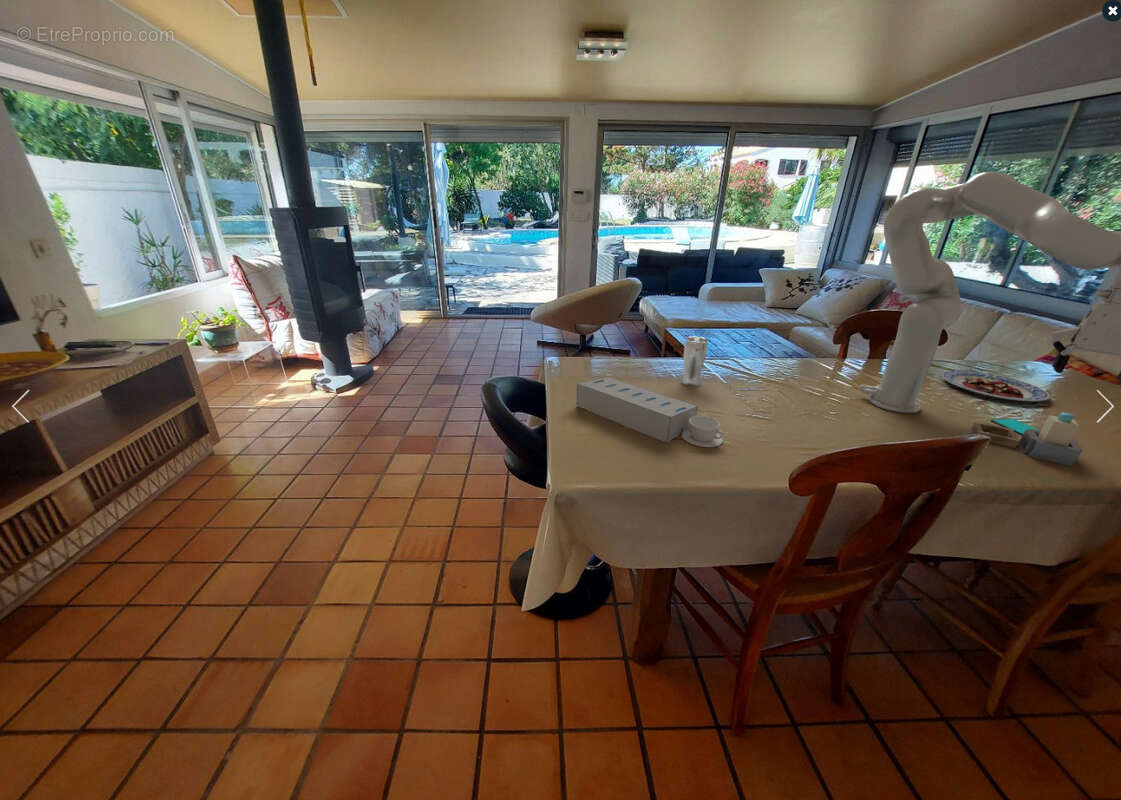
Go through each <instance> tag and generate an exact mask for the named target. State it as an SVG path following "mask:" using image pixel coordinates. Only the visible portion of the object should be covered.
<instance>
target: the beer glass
mask: <svg viewBox="0 0 1121 800" xmlns="http://www.w3.org/2000/svg"><path fill="white" fill-rule="evenodd" d="M685 340H686V341H685V344H684V348H683V349H684V350H683V375H682V376H681V377H682V378H681V380H680V382H681V384H683V385H685V386H687V387H688V386H689V387H698V386H700V385H701V373H702V369H703V366H704V363H705V360H706V357H707V351H708V342H709V340H708V339H707V338H705V337H702V336H688V337H687V338H686V339H685Z"/></svg>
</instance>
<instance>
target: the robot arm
mask: <svg viewBox="0 0 1121 800" xmlns="http://www.w3.org/2000/svg"><path fill="white" fill-rule="evenodd" d="M973 215H977V216H979V217H980V218H984V219H985V220H987V221H989V222H991V223H993V224H994V225H997V226H999V227H1000V228H1002V229H1004V230H1006V231H1007V232H1009V233H1011V234H1013V235H1015V236H1016V237H1017V238H1019V239H1020V240H1023V241H1024V242H1027V243H1028V244H1030V245H1031V246H1033V247H1035V248H1036V249H1038V250H1040V252H1043V253H1044V254H1047V255H1049V256H1051V257H1052V258H1055V259H1057V260H1059V261H1060V262H1062V263H1064V264H1066V265H1069V266H1071V267H1073V268H1074V269H1079V270H1083V271H1095V270H1100V269H1107V268H1116V269H1117V268H1119V269H1120V270H1118V273H1117V275H1116V277H1115V279H1113V280H1114V281H1113V282H1112V284H1111V285H1110V286H1109V287H1108V288H1106V289H1103V290H1102V289H1099V290H1097V292H1096V293H1095V297H1100V298H1102V301H1097V302H1096V303H1094V305H1093V306H1092V307H1091V309H1090V310H1089V311H1088V312H1087V314H1086V315H1085V317H1084V318H1083V319H1082V320H1081V322H1080V324H1079V325H1078V326H1077V327H1073V328H1068V329H1062V330H1057V331H1053V332H1051V333H1050V339H1051V345H1052V346H1053V347H1054V348H1055V349H1056V351H1057V352H1058V354H1057V355H1056V357H1055V359H1054V361H1053V363H1052V365H1051V367H1052V368H1053V371H1055V372H1056V373H1058V374H1061V373H1063V371H1064V369H1065V368H1066V366H1067V365H1068V362H1069V361H1070V359H1071V356H1070V355H1071V354H1073V353H1074V352H1077V351H1079V350H1082V351H1085V352H1087V351H1088V352H1092V353H1093V352H1094V353H1101V354H1107V355H1115V356H1121V230H1120V231H1119V230H1108V229H1106V228H1104V227H1101V226H1099V225H1097V224H1095V223H1093V222H1090V221H1088V220H1086V219H1084V218H1082V217H1079V216H1078V215H1076V214H1074V213H1072V212H1071V211H1069V210H1068V209H1066V208H1065V207H1063V205H1061V203H1060V202H1059V201H1058V200H1057V199H1056V198H1054V197H1053V196H1051V195H1049V194H1046V193H1044V192H1043V191H1040V190H1037V189H1035V188H1032V187H1030V186H1029V185H1026V184H1024V183H1022V182H1019V181H1017V180H1016V179H1015V177H1013V176H1012V175H1010V174H1008V173H1005V172H998V171H984V172H981V173H977V174H975V175H974V176H972V177H969V179H968V180H966V181H965V182H963V183H961V184H956V185H953V186H947V187H944V188H934V187H922V188H916V189H913V190H911V191H909V192H908V193H907V192H906V193H905V194H903V196H901V197H900V198H899V199H897V200H896V202H895V203H894V204H893V205H892V206H891V208H890V209H889V210H888V212H887V215H886V217H885V220H884V224H883V235H884V240H885V244H886V248H887V250H888V254H889V260H890V264H891V268H892V272H893V274H894V275H893V276H894V278H895V283H896V286H897V288H898V290H899V291H900V293H902V294H904V295H907V296H914V298H915V301H914V302H912V303H911V304H909V305H908V306H906V308H905V309H904V310H903V312H902V314H901V316H900V318H899V322H898V328H897V332H896V337H895V340H894V343H893V346H892V347H891V348H892V349H891V352H890V354H889V358H888V360H887V363H886V367H885V370H883V375H882V377H881V380H880V383H878V384H876V385H872V386H871V385H867V384H862V383H861V384H860V386H859V388H858V391H862V392H863V393H864V394H868V395H869V396H868V401H869V402H870V403H871V404H872V405H875V406H876V407H878V408H880V409H885V410H887V411H891V412H896V413H901V414H903V413H904V414H914V413H918V412H920V410H921V408H922V405H920V403H919V402H917V399H918V397H919V395H920V393H921V390H922V388H923V385H924V383H925V380H926V378H927V375H928V373H929V370H930V367H931V365H932V362H933V360H934V357H935V354H936V352H937V350H938V346H939V342H940V339H941V334H942V331H943V330H945V329H947V328H949V327H951V326H954V325H955V324H956V323H958V321H959V320H960V318H961V317H962V315H963V304H962V300H961V295H960V292H959V288H958V285H957V282H956V277H955V274H954V272H953V269H952V267H951V265H950V264H949V263H948V262H946V261H945V260H942V259H939V258H936V257H935V258H934V257H933V254H932V251H931V247H930V243H929V242H930V241H929V239H928V237H927V235H926V233H925V230H924V224H934V223H941V222H945V221H950V220H956V219H959V218H964V217H969V216H973ZM1068 336H1071V338H1070V342H1069V343H1067V344H1065V345H1064V344H1063V343H1062V338H1064V337H1068ZM1115 379H1116V380H1117V381H1119V382H1120V383H1121V370H1120V372H1119V373H1118V375H1117V376H1116V378H1115Z"/></svg>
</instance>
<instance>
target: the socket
mask: <svg viewBox="0 0 1121 800" xmlns="http://www.w3.org/2000/svg"><path fill="white" fill-rule="evenodd" d="M1039 433H1040V429H1038V430H1035V429H1030V428H1028V430H1025V432H1024V434H1023V436H1022V435H1021V437H1020V439H1019V443H1018V445H1019V448H1020V449H1021V452H1022V453H1023V454H1026V453H1027V456H1028V457H1029V456H1030V457H1029V458H1034V459H1038V458H1039V459H1038V460H1043V461H1047V462H1052V463H1055V464H1059V465H1064V466H1069V467H1072V466H1073V465H1075V464H1076V462H1077V461H1078V459H1079V457H1080V455H1081V454H1082V453H1083V451H1084V449H1083V447H1082V446H1081V444H1079V442H1078V441H1077V440H1076V439H1073V438H1072V440H1071V442H1070V443H1069V445H1068V446H1064V445H1059V444H1055V443H1050V442H1045V441H1041V440H1039V438H1038V435H1039Z"/></svg>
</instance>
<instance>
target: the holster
mask: <svg viewBox="0 0 1121 800" xmlns="http://www.w3.org/2000/svg"><path fill="white" fill-rule="evenodd" d="M971 431H972V433H973V435H974V434H981V435H985V436H988V437H990V438H991V441H992V442H994V443H992V442H990V443H992V444H996V445H1001V446H1005V447H1010V448H1013V449H1014V448H1015V449H1016V448H1017V446H1018V445H1019V444H1018V443H1019V441H1020V439H1019V438H1018V435H1017V433H1015V432H1014V430H1013V429H1009V428H1004V427H1002V426H999V425H996V424H995V425H993V424H990V423H985V422H980V421H975V420H974V422H973V423H972V425H971ZM987 432H989V433H987Z"/></svg>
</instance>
